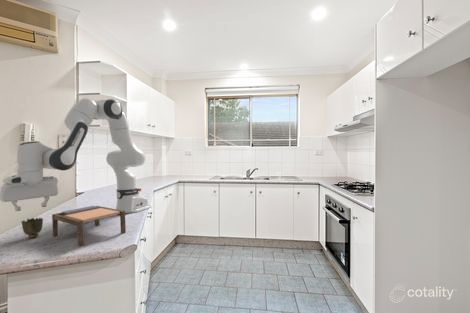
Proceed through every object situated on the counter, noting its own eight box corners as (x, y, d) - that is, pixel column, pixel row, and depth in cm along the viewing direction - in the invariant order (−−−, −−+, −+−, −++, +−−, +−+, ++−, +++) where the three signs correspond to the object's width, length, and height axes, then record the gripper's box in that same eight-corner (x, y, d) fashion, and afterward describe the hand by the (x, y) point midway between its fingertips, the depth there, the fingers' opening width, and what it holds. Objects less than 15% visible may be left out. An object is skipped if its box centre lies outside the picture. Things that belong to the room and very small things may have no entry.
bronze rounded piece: (31, 240, 107) (30, 222, 107) (17, 239, 108) (17, 221, 108) (47, 234, 114) (47, 217, 114) (34, 234, 116) (33, 217, 116)
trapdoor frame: (97, 225, 129) (97, 205, 128) (125, 232, 116) (125, 210, 115) (52, 236, 112) (52, 214, 112) (79, 246, 99) (78, 221, 99)
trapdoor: (95, 210, 126) (95, 205, 126) (119, 215, 114) (119, 209, 114) (59, 217, 112) (59, 212, 112) (83, 224, 101) (82, 218, 101)
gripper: (54, 175, 121) (55, 203, 121) (-2, 179, 104) (-2, 212, 104) (60, 176, 118) (61, 205, 118) (3, 180, 101) (3, 214, 101)
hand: (31, 208), depth 111 cm, fingers open, 8 cm apart
